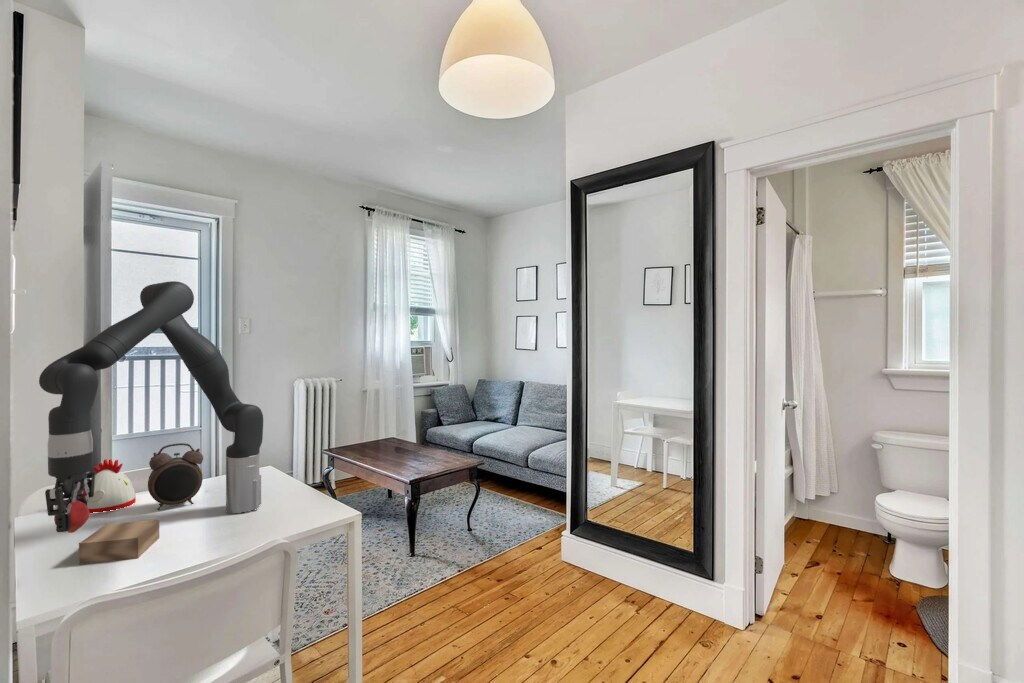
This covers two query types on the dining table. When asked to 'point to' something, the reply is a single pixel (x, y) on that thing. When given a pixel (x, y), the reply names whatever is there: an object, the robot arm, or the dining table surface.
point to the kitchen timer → (111, 488)
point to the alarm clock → (175, 476)
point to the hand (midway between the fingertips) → (72, 525)
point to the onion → (77, 515)
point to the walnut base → (119, 541)
